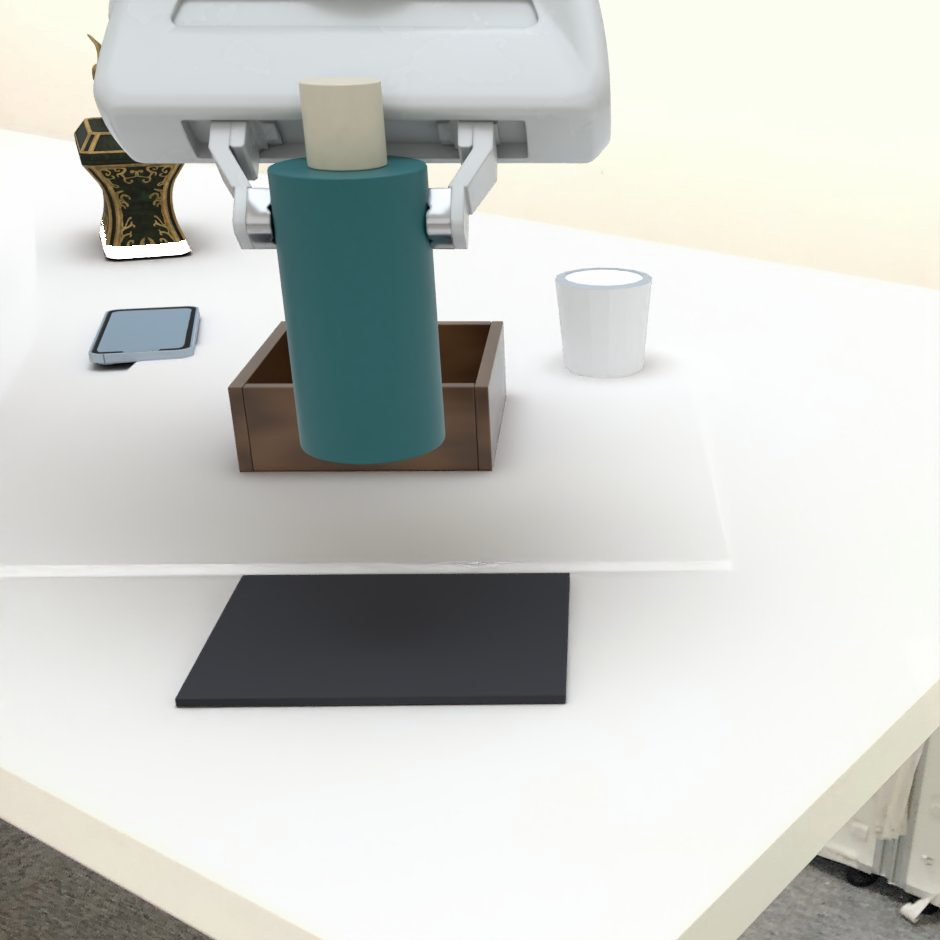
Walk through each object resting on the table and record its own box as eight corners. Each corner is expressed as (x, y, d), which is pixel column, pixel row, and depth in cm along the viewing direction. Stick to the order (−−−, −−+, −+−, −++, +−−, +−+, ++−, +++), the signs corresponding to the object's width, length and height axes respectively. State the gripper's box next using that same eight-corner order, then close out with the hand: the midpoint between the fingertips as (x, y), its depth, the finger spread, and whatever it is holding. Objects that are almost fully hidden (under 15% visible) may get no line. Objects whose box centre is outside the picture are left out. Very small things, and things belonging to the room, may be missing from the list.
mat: (176, 707, 55) (174, 698, 54) (243, 581, 65) (242, 574, 65) (565, 703, 55) (565, 694, 55) (569, 579, 66) (569, 572, 66)
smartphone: (200, 305, 110) (193, 349, 97) (201, 316, 111) (194, 362, 98) (105, 309, 109) (86, 355, 96) (107, 321, 109) (88, 368, 96)
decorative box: (204, 258, 130) (173, 37, 121) (99, 266, 127) (59, 39, 117) (183, 222, 146) (154, 25, 137) (90, 228, 143) (54, 26, 134)
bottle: (287, 465, 53) (239, 88, 47) (314, 417, 58) (275, 72, 52) (437, 464, 53) (411, 88, 47) (451, 416, 59) (429, 73, 52)
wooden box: (240, 481, 77) (227, 387, 75) (290, 403, 90) (281, 321, 88) (492, 480, 78) (488, 386, 75) (506, 402, 91) (503, 320, 88)
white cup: (668, 379, 96) (670, 281, 92) (584, 393, 93) (583, 292, 89) (622, 355, 101) (622, 262, 98) (541, 368, 98) (538, 271, 95)
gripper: (88, -111, 52) (48, 191, 48) (608, -108, 53) (613, 190, 49) (141, 9, 58) (110, 286, 54) (608, 11, 59) (612, 285, 55)
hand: (353, 241), depth 51 cm, fingers closed on bottle, 6 cm apart
